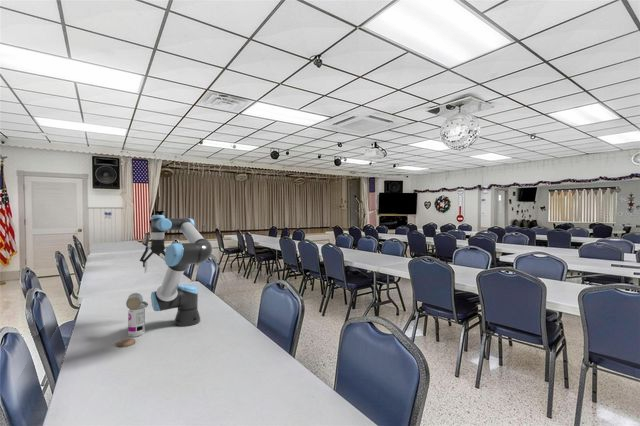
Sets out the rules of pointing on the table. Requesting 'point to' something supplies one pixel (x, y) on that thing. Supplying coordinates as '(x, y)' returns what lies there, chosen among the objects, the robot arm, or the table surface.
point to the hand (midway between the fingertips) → (157, 272)
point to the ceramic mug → (135, 301)
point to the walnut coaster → (125, 343)
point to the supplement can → (136, 322)
